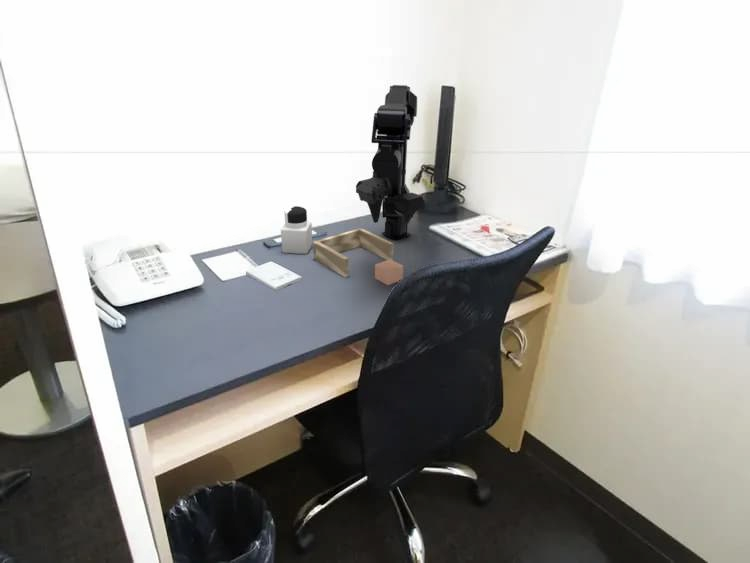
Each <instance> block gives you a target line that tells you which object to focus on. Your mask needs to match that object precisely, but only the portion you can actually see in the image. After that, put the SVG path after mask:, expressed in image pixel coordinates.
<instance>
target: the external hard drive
mask: <svg viewBox="0 0 750 563" xmlns="http://www.w3.org/2000/svg"><path fill="white" fill-rule="evenodd" d="M245 275H246V276H248V277H250V278H252V279H254V280H255V281H258V282H259V283H261V284H263V285H265V286H266V287H267V288H268V287H269V288H270V289H271V290H273V291H275V292H277V291H279V290H280V289H284V288H286V287H287V286H289V285H292V284H295V283H298V282H300V281H303V277H302V276H301V275H299V274H297V273H295V272H293V271H291V270H289V269H287V268H285V267H283V266H282V265H280V264H277V263H275V262H273V261H269V262H266V263H263V264H261V265H257V266H253V267H252V268H249V269H247V270H246V271H245Z"/></svg>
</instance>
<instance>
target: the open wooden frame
mask: <svg viewBox="0 0 750 563" xmlns="http://www.w3.org/2000/svg"><path fill="white" fill-rule="evenodd" d="M359 247H361V248H362V249H365V250H366V251H369V252H370V253H373V254H375V255H376V256H378V257H380V258H382V259H384V260H385V261H386V260H389V259H390V260H392V261H394V243H393V242H391V241H390V240H387V239H385V238H382V237H381V236H379V235H377V234H374V233H372V232H370V231H368V230H367V229H364V228H361V227H359V228H356V229H352V230H349V231H346V232H342V233H338V234H336V235H331V236H328V237H324V238H322V239H318V240H314V241H312V248H313V250H312V251H313V259H314V260H315V261H317V262H319V263H320V264H321V265H324V266H325V267H327V268H329V269H331V270H332V271H334V272H335V273H338V274H339V275H340V276H342V277H343V278H347V277H349V274H350V272H349V271H350V270H349V269H350V268H349V266H350V264H349V257H347V256H345V255H343V254H341V253H343V252H346V251H349V250H353V249H356V248H359Z"/></svg>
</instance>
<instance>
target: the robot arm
mask: <svg viewBox="0 0 750 563" xmlns="http://www.w3.org/2000/svg"><path fill="white" fill-rule="evenodd" d="M417 116H418V96H417V95H416V94H415V93H414V92H412V90H411V86H408V85H405V84H404V85H401V84H392V85H390V86H389V91H388V93H386V95H385V98H384V104H382V105H379V107H378V108H377V110H376V112H374V114H373V122H372V132H371V144H377V151H376V152H375V154H374V156H373V158H372V161H371V169H372V170H373V171H372V177H369V178H367V179H363V180H359V181H357V183H356V185H355V193H356V194H357V196H358V198H359V201H361V202H365V203H367V206H368V208H369V211H370V215H371V218H372V221H373V223H379V219H380V216H381V211H382V218H385V222H384V231H383V232H381V235H382V236H385V237H387V238H389V239H392V240H393V241H398V240H401V239H405V238H408V237H410V236H411V233H409V232H408V225H409V224H410V222H411V220H412V219H413V218H414V215H415V213H416V212H418V211H421V210H422V209H424V208H425V207H426V206H425V205H426V204H425V203H426V198H424V196H422V195H420V194H417V193H415V192H411V191H410V189H409V188H408V186H407V184H406V175H407V174H406V173H407V156H408V155H407V154H408V153H407V152H408V141H409V140H410V139H411V132H412V131H411V129H412V126H413V124H414V122H415V117H417Z"/></svg>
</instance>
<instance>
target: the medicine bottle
mask: <svg viewBox="0 0 750 563" xmlns="http://www.w3.org/2000/svg"><path fill="white" fill-rule="evenodd" d="M307 211H308V210H307V209H306V208H304V206H303V207H302V206H295V205H294V206H289V207H287V208H285V210H284V224H283V226H282V227H281V229H280V235H281V236H280V237H281V251H282V253H284V254H301V255H308V253H309V251H310V249H311V248H312V247H313V228H312V227H313V225H312V221H308V213H307Z"/></svg>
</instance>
